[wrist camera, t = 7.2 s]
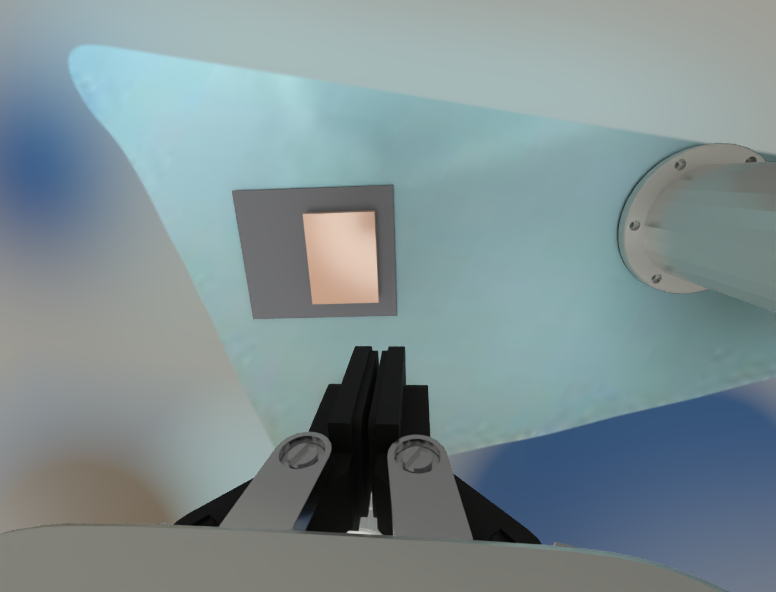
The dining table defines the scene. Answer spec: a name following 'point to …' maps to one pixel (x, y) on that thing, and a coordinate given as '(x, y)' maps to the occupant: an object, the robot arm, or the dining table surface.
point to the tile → (342, 256)
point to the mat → (288, 248)
